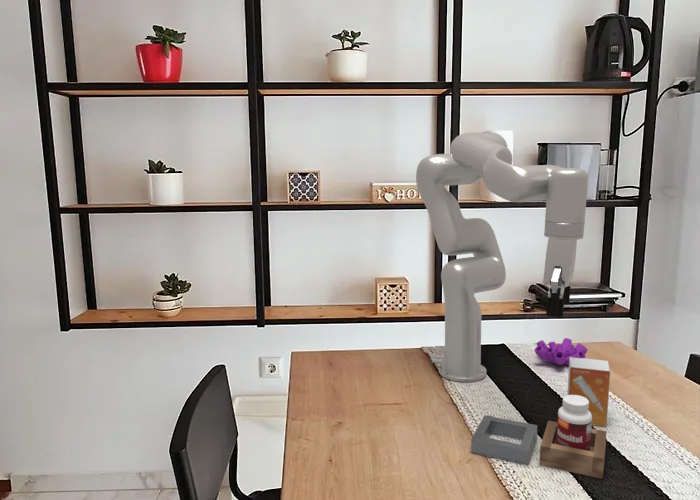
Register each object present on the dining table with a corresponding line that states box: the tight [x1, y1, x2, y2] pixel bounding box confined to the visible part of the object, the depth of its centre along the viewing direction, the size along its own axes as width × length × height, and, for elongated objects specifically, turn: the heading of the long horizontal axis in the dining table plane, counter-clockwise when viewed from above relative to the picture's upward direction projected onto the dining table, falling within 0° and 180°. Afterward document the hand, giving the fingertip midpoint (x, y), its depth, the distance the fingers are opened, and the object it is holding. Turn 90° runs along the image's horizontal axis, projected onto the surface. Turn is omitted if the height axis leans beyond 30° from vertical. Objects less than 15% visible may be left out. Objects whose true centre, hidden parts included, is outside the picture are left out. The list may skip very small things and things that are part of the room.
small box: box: [566, 357, 611, 428], centre depth 123 cm, size 8×6×13 cm
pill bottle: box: [556, 394, 593, 451], centre depth 108 cm, size 6×6×11 cm
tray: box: [539, 420, 608, 480], centre depth 109 cm, size 11×11×4 cm
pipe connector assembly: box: [534, 337, 589, 366], centre depth 155 cm, size 11×15×10 cm
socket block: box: [470, 414, 538, 466], centre depth 114 cm, size 11×11×3 cm
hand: (557, 309), depth 117 cm, fingers open, 9 cm apart
